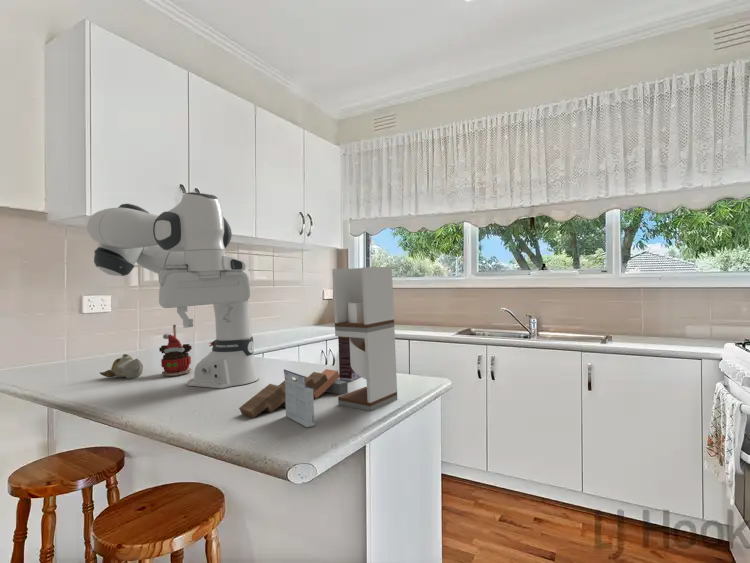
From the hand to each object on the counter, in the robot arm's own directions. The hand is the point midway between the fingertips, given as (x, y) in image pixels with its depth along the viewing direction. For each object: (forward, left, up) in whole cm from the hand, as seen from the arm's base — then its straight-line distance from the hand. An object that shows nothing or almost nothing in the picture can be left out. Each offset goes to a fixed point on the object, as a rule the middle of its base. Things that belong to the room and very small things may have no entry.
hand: (208, 324), depth 100 cm
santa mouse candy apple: (-47, +50, -24) cm, 73 cm away
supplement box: (+20, +47, -24) cm, 56 cm away
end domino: (+14, +24, -22) cm, 36 cm away
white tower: (+31, +21, -24) cm, 45 cm away
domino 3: (+9, +16, -22) cm, 29 cm away
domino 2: (+7, +12, -22) cm, 26 cm away
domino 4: (+11, +20, -22) cm, 32 cm away
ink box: (+19, +6, -24) cm, 31 cm away
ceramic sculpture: (-64, +45, -24) cm, 82 cm away
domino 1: (+4, +7, -22) cm, 24 cm away
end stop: (+18, +31, -23) cm, 43 cm away
